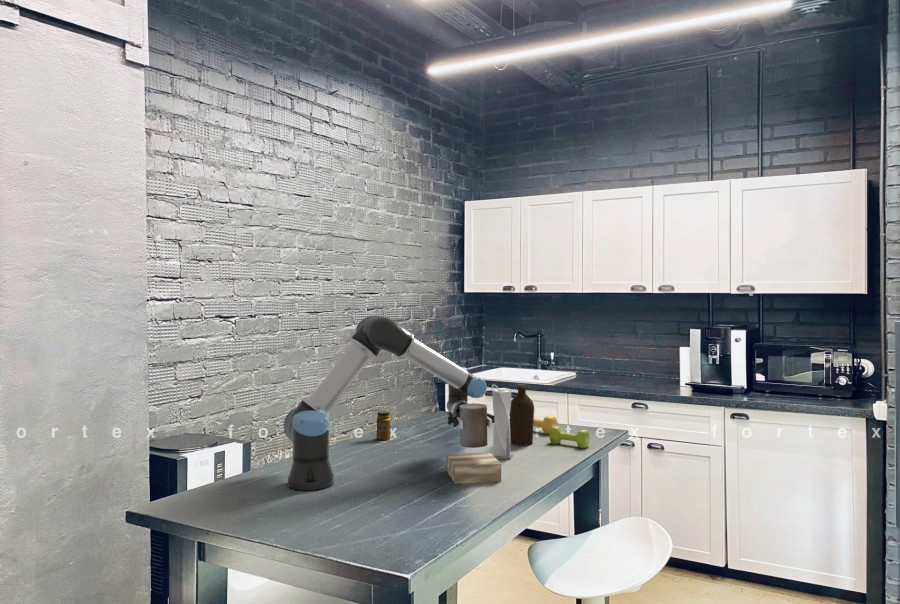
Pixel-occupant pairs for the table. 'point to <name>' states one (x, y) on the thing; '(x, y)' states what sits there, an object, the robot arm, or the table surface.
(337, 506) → the table surface
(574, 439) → the dumbbell
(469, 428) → the pillar candle
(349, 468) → the table surface
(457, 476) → the oak block
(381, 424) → the condiment
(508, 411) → the skyscraper
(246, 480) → the table surface
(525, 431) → the olive oil
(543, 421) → the dumbbell
